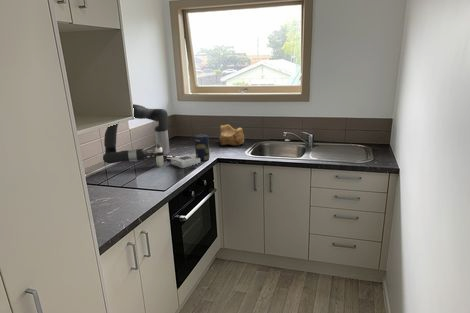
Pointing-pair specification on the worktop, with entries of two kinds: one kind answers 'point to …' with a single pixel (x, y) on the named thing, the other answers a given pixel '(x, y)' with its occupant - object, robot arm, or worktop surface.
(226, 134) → the rough brown rock
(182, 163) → the grey square socket block
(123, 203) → the worktop surface
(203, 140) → the canister
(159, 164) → the capped white bottle
